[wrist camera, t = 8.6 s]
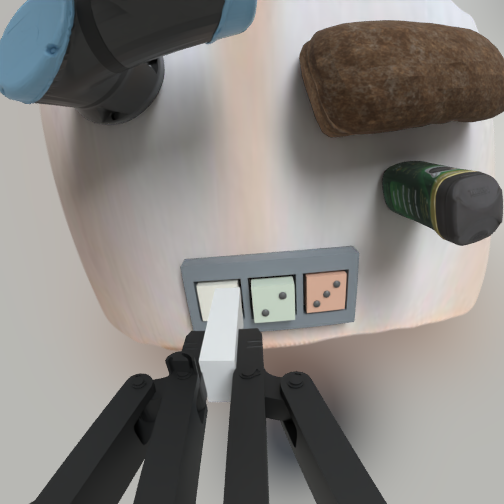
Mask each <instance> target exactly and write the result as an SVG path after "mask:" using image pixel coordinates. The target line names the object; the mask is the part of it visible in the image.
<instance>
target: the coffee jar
mask: <svg viewBox="0 0 504 504" xmlns="http://www.w3.org/2000/svg"><path fill="white" fill-rule="evenodd" d="M382 184H383V193H384V198H385V202H386V204H387V206H388V208H389V209H390V210H392V211H393V212H395V213H397V214H400V215H402V216H404V217H407V218H409V219H412V220H414V221H417V222H419V223H421V224H423V225H425V226H427V227H429V228H432V229H433V230H435V231H436V233H437V234H438V235H439V236H440V237H441V238H443V239H445V240H447V241H450V242H452V243H455V244H457V245H461V246H463V245H468V244H471V243H475V242H477V241H480V240H482V239H484V238H487V237H488V236H490V235H491V234H493V232H495V230H496V229H497V228H498V226H499V225H500V223H501V222H502V216H503V196H502V189H501V188H500V186H499V185H498V183H497V181H496V180H495V179H494V178H493V177H491V176H490V175H487V174H485V173H482V172H478V171H471V170H464V169H457V168H452V167H447V166H442V165H437V164H432V163H428V162H422V161H410V162H404V163H399V164H396V165H394V166H391V167H389V168H388V169H387V170H386V171H385V173H384V176H383V182H382Z"/></svg>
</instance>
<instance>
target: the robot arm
mask: <svg viewBox="0 0 504 504" xmlns="http://www.w3.org/2000/svg"><path fill="white" fill-rule="evenodd" d="M256 7H257V0H27V1H26V2H25V3H24V4H23V5H22V6H21V7H20V8H19V9H18V11H17V12H16V13H15V15H14V16H13V17H12V19H11V20H10V22H9V24H8V25H7V27H6V29H5V31H4V34H3V36H2V38H1V40H0V92H1V93H2V94H3V95H5V97H7V98H9V99H12V100H16V101H20V102H23V103H25V104H31V103H39V104H49V105H57V106H65V107H73V108H75V109H76V110H77V111H78V112H79V113H80V114H81V115H82V116H83V117H85V118H86V119H88V120H90V121H92V122H94V123H99V124H107V125H114V124H120V123H124V122H126V121H129V120H131V119H133V118H135V117H136V116H138V115H139V114H140V113H142V112H143V111H144V110H145V109H146V108H147V107H148V106H149V105H150V104H151V103H152V101H153V100H154V98H155V97H156V95H157V94H158V92H159V90H160V87H161V84H162V81H163V77H164V60H163V56H165V55H168V54H170V53H173V52H176V51H179V50H183V49H186V48H189V47H192V46H196V45H199V44H203V43H206V44H211V43H213V42H215V41H216V40H218V39H222V38H225V37H229V36H233V35H237V34H240V33H242V32H244V31H245V30H246V29H247V28H248V27H249V26H250V25H251V24H252V22H253V20H254V17H255V13H256ZM243 325H244V324H243V314H242V303H241V293H240V287H236V288H215V292H214V296H213V300H212V304H211V309H210V313H209V317H208V322H207V326H206V330H205V331H191V332H190V333H189V334H188V335H187V336H186V339H185V342H184V345H183V349H182V351H181V352H175V353H173V354H171V355H169V356H168V357H167V359H166V360H165V361H166V365H167V368H168V371H169V376H168V377H165V378H161V379H155V380H152V378H151V377H150V376H149V375H147V374H136V375H133V376H131V377H130V378H129V379H128V380H127V381H126V382H125V383H124V385H123V386H122V387H121V388H120V390H119V391H118V392H117V393H116V395H115V396H114V397H113V399H112V400H111V401H110V403H109V404H108V405H107V406H106V408H105V409H104V410H103V411H102V413H101V414H100V415H99V417H98V418H97V419H96V420H95V422H94V423H93V424H92V426H91V427H90V428H89V430H88V431H87V432H86V433H85V435H84V436H83V437H82V439H81V440H80V442H78V444H77V445H76V447H75V448H74V449H73V450H72V452H71V453H70V454H69V456H68V457H67V458H66V460H65V461H64V462H63V464H62V465H61V466H60V468H59V469H58V470H57V472H56V473H55V474H54V476H53V477H52V478H51V480H50V481H49V482H48V484H47V485H46V486H45V488H44V489H43V490H42V492H41V493H40V494H39V496H38V497H37V498H36V500H35V501H33V502H31V503H30V504H118V503H119V501H120V499H121V497H122V496H123V494H124V493H125V491H126V489H127V487H128V486H129V484H130V482H131V481H132V479H133V477H134V476H135V474H136V472H137V471H138V469H139V467H140V466H141V464H142V462H143V461H144V459H145V461H144V464H143V468H142V471H141V476H140V479H139V483H138V487H137V491H136V495H135V499H134V503H133V504H196V495H197V487H198V479H199V471H200V463H201V455H202V448H203V440H204V433H205V425H206V418H207V411H208V410H207V405H206V400H207V397H208V401H209V402H231V404H230V417H229V431H228V445H227V459H226V472H225V487H224V503H223V504H269V486H268V459H267V431H266V418H270V419H275V420H280V421H281V424H282V427H283V429H284V431H285V434H286V436H287V438H288V440H289V443H290V445H291V448H292V450H293V452H294V454H295V457H296V459H297V461H298V463H299V466H300V468H301V470H302V472H303V474H304V477H305V479H306V481H307V484H308V486H309V488H310V490H311V492H312V494H313V496H314V499H315V501H316V503H317V504H387V503H386V501H385V500H384V498H383V497H382V495H381V493H380V492H379V490H378V489H377V487H376V485H375V484H374V482H373V480H372V479H371V477H370V476H369V474H368V472H367V471H366V469H365V467H364V466H363V464H362V463H361V461H360V459H359V458H358V456H357V454H356V453H355V451H354V449H353V448H352V446H351V444H350V443H349V441H348V440H347V438H346V436H345V435H344V433H343V431H342V430H341V428H340V426H339V425H338V423H337V421H336V420H335V418H334V416H333V415H332V413H331V411H330V410H329V408H328V406H327V405H326V403H325V401H324V400H323V398H322V396H321V395H320V393H319V391H318V390H317V388H316V386H315V384H314V383H313V381H312V379H311V378H310V377H309V376H308V375H307V374H305V373H303V372H297V371H296V372H290V373H287V374H285V375H284V376H283V377H276V376H273V375H271V374H269V373H267V372H266V371H265V369H264V363H263V344H262V333H261V332H260V331H259V329H258V328H250V329H243Z"/></svg>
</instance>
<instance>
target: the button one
mask: <svg viewBox="0 0 504 504" xmlns="http://www.w3.org/2000/svg"><path fill="white" fill-rule="evenodd" d="M196 287H197V292H198V298H199V303H200V308H201V313H202V319H203V321H208V317H209V313H210V309H211V304H212V300H213V296H214V292H215V288H236V287H239V280H238V279H227V280H212V281H198V284H197V286H196Z"/></svg>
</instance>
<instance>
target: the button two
mask: <svg viewBox="0 0 504 504" xmlns="http://www.w3.org/2000/svg"><path fill="white" fill-rule="evenodd" d="M251 291H252V302H253V312H254V322H255V323H263V322H276V321H287V320H295V289H294V281H293V277H292V276H288V277H276V278H263V279H251Z"/></svg>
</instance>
